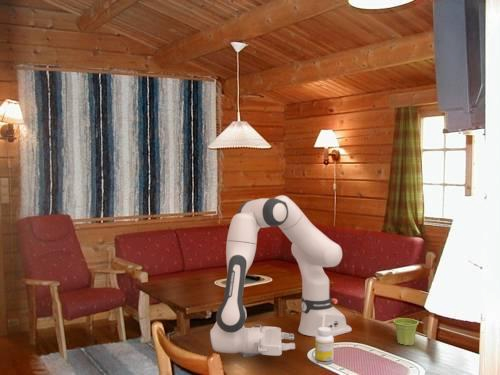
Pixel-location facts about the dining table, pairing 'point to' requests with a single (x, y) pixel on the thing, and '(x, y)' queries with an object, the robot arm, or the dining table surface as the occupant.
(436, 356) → the dining table surface
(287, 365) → the dining table surface
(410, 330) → the plant pot
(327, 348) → the pill bottle
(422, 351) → the dining table surface
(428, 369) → the dining table surface
